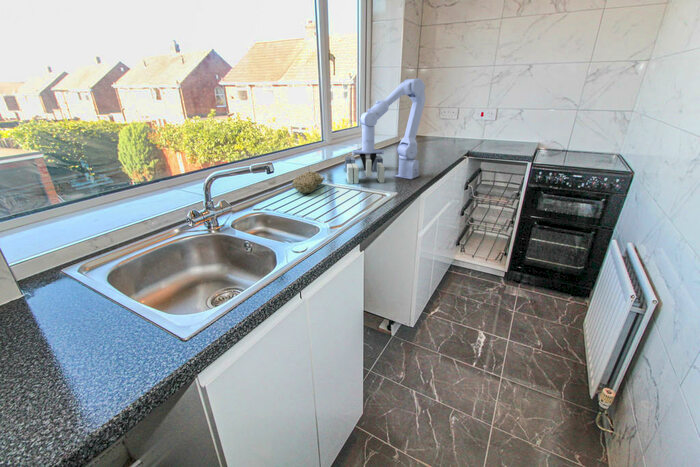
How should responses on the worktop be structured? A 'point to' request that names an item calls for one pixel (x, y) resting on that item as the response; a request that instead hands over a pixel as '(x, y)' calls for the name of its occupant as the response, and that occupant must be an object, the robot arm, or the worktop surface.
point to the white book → (368, 166)
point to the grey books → (352, 161)
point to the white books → (354, 173)
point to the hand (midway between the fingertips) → (367, 170)
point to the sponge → (307, 182)
